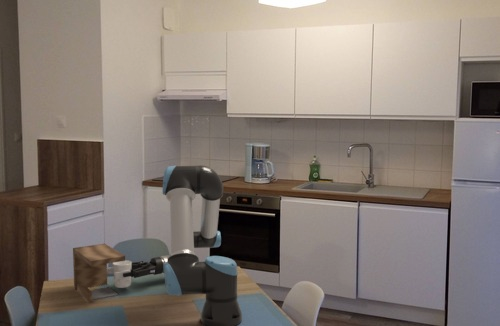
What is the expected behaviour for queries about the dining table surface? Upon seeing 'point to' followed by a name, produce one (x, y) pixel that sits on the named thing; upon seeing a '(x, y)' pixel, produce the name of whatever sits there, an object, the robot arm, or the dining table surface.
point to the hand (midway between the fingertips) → (111, 273)
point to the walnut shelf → (92, 267)
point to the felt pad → (102, 293)
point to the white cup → (121, 267)
